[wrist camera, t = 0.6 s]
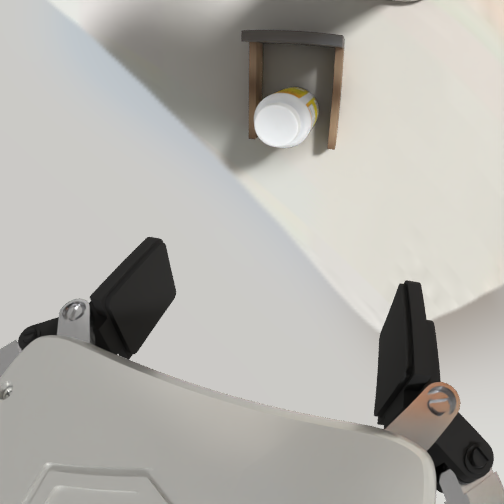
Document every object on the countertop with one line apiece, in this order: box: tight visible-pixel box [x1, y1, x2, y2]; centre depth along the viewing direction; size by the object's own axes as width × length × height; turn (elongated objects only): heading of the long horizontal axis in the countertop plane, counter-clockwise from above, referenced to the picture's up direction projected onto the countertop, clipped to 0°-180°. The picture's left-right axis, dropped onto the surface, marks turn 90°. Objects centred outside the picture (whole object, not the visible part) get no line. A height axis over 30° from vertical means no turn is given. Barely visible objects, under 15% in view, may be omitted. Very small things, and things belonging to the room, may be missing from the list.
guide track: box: [242, 30, 344, 149], centre depth 29 cm, size 13×10×5 cm
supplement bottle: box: [254, 87, 319, 148], centre depth 29 cm, size 6×6×10 cm
